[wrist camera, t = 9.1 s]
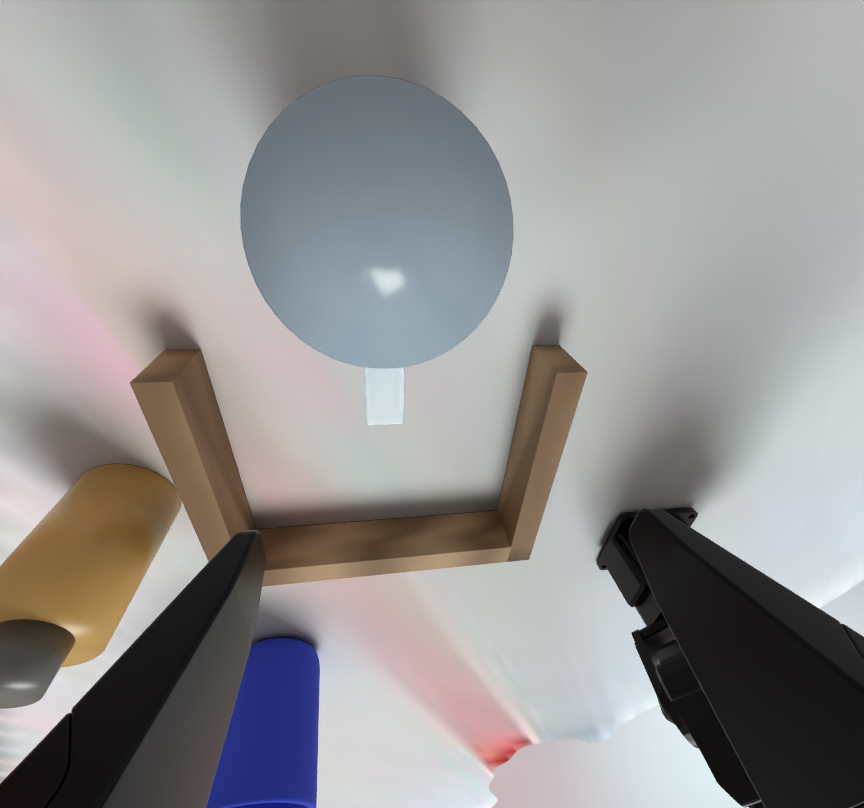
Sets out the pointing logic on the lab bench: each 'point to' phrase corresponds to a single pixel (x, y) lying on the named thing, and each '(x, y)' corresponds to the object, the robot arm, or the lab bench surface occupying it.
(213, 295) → the lab bench surface
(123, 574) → the reagent bottle
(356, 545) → the cradle
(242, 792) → the mug
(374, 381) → the pale blue canister
